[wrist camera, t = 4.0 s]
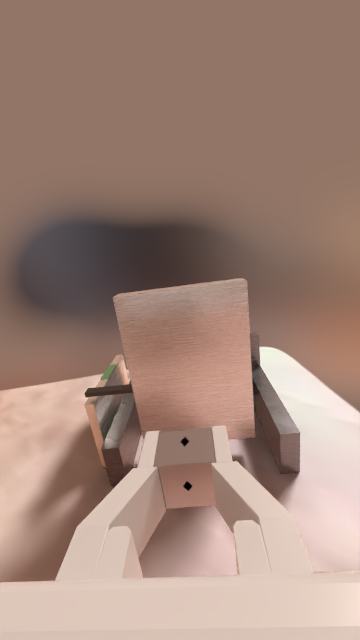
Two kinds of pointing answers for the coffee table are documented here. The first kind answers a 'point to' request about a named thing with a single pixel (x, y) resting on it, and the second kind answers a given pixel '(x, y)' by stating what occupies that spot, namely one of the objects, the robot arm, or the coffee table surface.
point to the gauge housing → (124, 430)
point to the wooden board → (188, 357)
